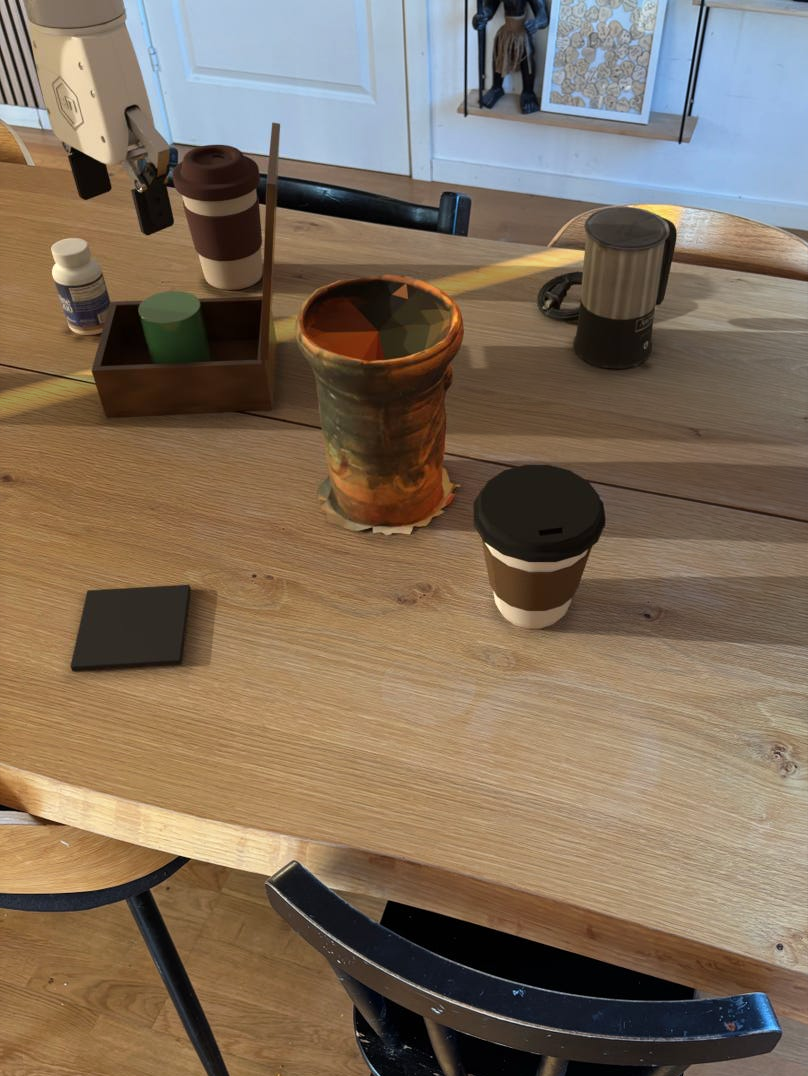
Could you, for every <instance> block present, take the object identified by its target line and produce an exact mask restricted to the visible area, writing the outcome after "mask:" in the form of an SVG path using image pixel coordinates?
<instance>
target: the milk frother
mask: <svg viewBox="0 0 808 1076" xmlns="http://www.w3.org/2000/svg"><path fill="white" fill-rule="evenodd" d="M583 226H584V227H583V228H584V231H585V233H586V234H585V245H584V253H583V257H584V258H583V265H582V271H571V272H567V273H564V274H560V275H557V276H555V277H553V278H551V279H549V280H548V281H547V282H545V284H543V286H542V287H541V288H540V289H539V291H538V293H537V298H536V305H537V308H538V310H539V312H540V313H541V314H542V315H544V316H545V317H547V318H548V319H551V320H554V321H556V322H561V323H569V322H577V325H576V334H575V335H574V338H573V342H572V343H573V344H572V345H573V350H574V352H575V354H577V356H578V357H579V358H581V359H582V360H584V361H585V362H586V363H588V364H591V365H594V366H596V367H600V368H603V369H604V368H606V369H619V370H620V369H628V368H633V367H636V366H638V365H640V364H642V363H643V362H645V361H647V359H648V358H649V357H650V356H651V354H652V350H653V345H652V335H653V328H654V317H655V311H656V306H660V305H662V303H663V301H664V298H665V296H666V291H667V287H668V283H669V282H668V281H669V277H670V272H671V269H672V268H671V267H672V263H673V258H674V253H675V248H676V244H677V237H678V232H677V228H676V225H675V224H674V222H672V221H671V220H670V219H667V218H665V217H663V216H661V215H660V214H656V213H655V212H652V211H650V210H648V209H647V210H646V209H643V208H637V207H634V206H632V207H630V206H617V207H616V206H615V207H607V208H603V209H600V210H597V211H595V212H593V213H592V214H590V215H588V217H587V218H586V219H585V220H584V225H583ZM575 285H578V286H580V285H581V286H580V287H581V289H580V299H579V308H575V309H573V310H560V309H561V305H562V303H563V301H564V300H565V298H566V297H567V296H568V291H569V290H570V289H571V288H572V286H575Z"/></svg>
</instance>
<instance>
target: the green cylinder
mask: <svg viewBox="0 0 808 1076" xmlns="http://www.w3.org/2000/svg"><path fill="white" fill-rule="evenodd" d="M142 301H143V302H142V303H141V304H140V306H139V309H138V312H139V316H140V320H141V324H142V327H143V331H144V335H145V339H146V343H147V347H148V350H149V354H150V358H151V362H152V364H167V363H192V362H212V357H211V352H210V348H209V343H208V338H207V333H206V328H205V324H204V319H203V314H202V309H201V304H200V301H199V298H198V297H197V296H196V295H194V294H193V293H189V292H186V291H180V290H168V291H162V292H157V293H155V294H152V295H150V296H148V297H146V298H144V300H142Z"/></svg>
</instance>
